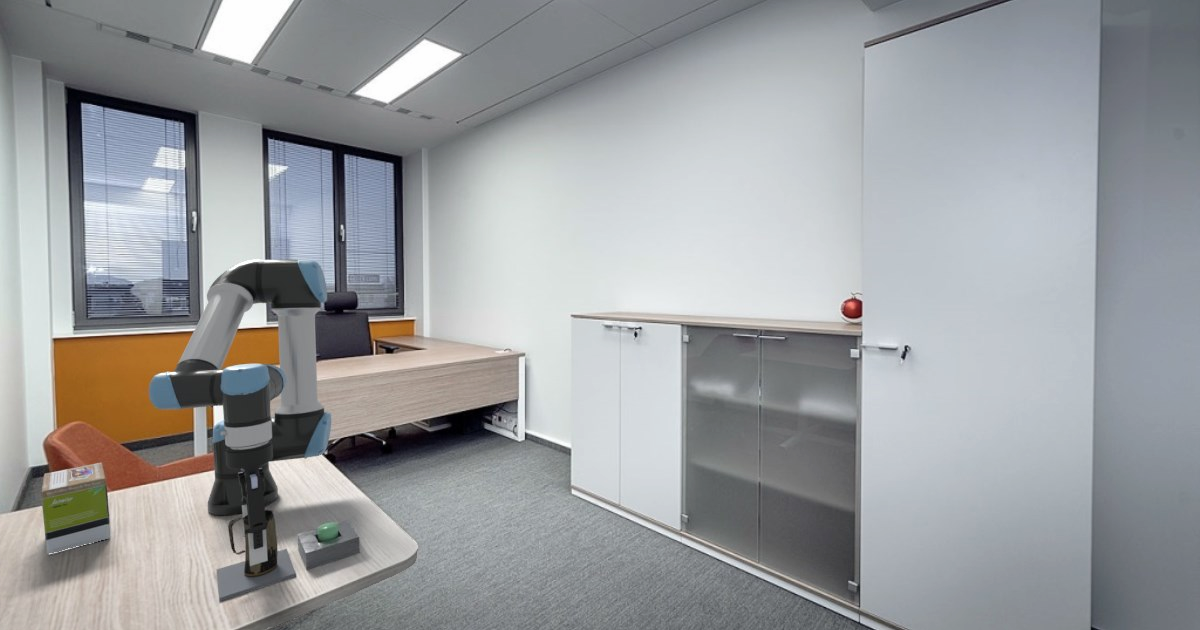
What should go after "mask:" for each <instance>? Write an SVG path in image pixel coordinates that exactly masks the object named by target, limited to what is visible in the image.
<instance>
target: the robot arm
mask: <svg viewBox="0 0 1200 630" xmlns="http://www.w3.org/2000/svg"><path fill="white" fill-rule="evenodd" d="M206 299H207V304H206V306H205V309H204V310H203V312H202V314H201V316H200V318H199V321H198V322H197V324H196V326H195V329H194V330H193V332H192V334H191V337H190V339H189V341H188V343H187V345H186V347H185V348H184V351H183V352H182V355H181V357H180V359H179V361H178V363H177V364H176V367H175V368H174V370H173V371H170V370H169V371H166V372H161V373H160V372H159V373H157V374H155V375H154V376H153V377H152V379H151V381H150V383H149V387H148V396H149V400H150V402H151V404H152V406H153V407H154V408H156V409H158V410H183V409H194V408H205V407H206V408H208V407H215V406H216V407H219V406H222V413H223V420H221V421H219V422H217V423H216V424H215V425H214V427H213V428H212V441H211V444H212V451H213V452H212V453H213V469H214V482H213V485H212V488H211V491H210V494H209V496H208V500H207V511H208V514H211V515H214V516H231V515H238V514H242V517H243V518H244V517H245V516H246V515H248V523H249V529H247V530H244V523H243V522H242V529H243V530H242V531H243V537H244V538H245V534H248V540H249V557H250V566H252V565H255V564H259V563H262V562H265V561H268V559H267V540H266V529H267V524H266V517H265V510H266V508H265V507H266V506H268V505H270V504H271V503H273V502H274V501H276V500H277V498H278V497H279V490H278V489H279V488H278V485H277V484H276V483H277V482H276V481H275V479H274V476H273V475H272V472H271V471H270V462H278V461H279V462H280V461H288V460H297V459H307V458H313V457H319V456H321V455H323V454H324V453H325V452H326V450H327V448H328V444H329V440H330V436H331V429H332V414H331V413H330V412H328V411H325V405H323V404H322V403H321V402H320V401H319V400H318V375H317V374H318V373H317V371H318V370H317V344H316V343H317V340H316V338H317V337H316V314H318V312H320V311H321V309H322V306H321V305H322V304H323V303H326V302H327V301H328V288H327V283H326V278H325V274H324V271H323V269H322V266H321V264H319V263H318V262H317V261H315V260H309V259H308V260H306V259H251V260H246V261H244V262H243V261H242V262H239V263H237V264H236V265H233V266H232V267H229V268H228V269H227V270H225V271H224V272H223V273H221V274H220V275H219V276H218V277H217V278H215V280H214V281H213V283H212V284H211V285H210V287H209V289H208V291H207V293H206ZM254 304H255V305H256V304H270V309H271V310H270V311H272V312H273V313H274V314H275V315H276V316H277V317H278V318H277V320H278V321H277V325H278V326H277V327H278V349H279V350H278V351H279V354H278V355H279V366H276V365H273V364H262V363H245V364H243V363H242V364H237V365H236V364H235V365H231V366H227V367H225V368H224V369H222V368H223V365H224V364H225V361H226V358H227V355H228V353H229V350H230V348H231V347H232V344H233V342H234V339H235V337H236V334H237V331H238V329H239V326H240V325H241V323H242V319H243V317H244V315H245V313H246V312H248V311H250V310H251V309H252V307H253V306H254ZM279 396H280V405H279V406H278V407H277V408H276V409H274V417H272V416H271V401H272V400H274V399H275V398H278V397H279ZM258 523H260V524H258ZM255 524H256V525H255Z"/></svg>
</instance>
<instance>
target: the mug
mask: <svg viewBox="0 0 1200 630" xmlns="http://www.w3.org/2000/svg"><path fill="white" fill-rule="evenodd" d="M265 517H266V524H267V529H266V540H267V559H268V561H265V562H262V563H259V564H255V565H252V566H250V557H249V540H248V534H245V537H244V542H245V545H244V548H245V550H244V549H243V550H241V551H238V552H237V550H236V548H235V541H234V532H233V526H234V525H235V523H236V522H238V521H240V520H242V524H243V523H244V530H247V529H249V523H248V515H246V516H245V517H244V518H243V516H238V517H235V518H233V519H232V520H230V522H229V523H228V526H227V527H228V537H229V543H230V547H231V550H232V552H233V554H235V555H241V554H244V553H245V555H244V556H245V557H244V561H245V568H244V575H245V576H246V577H258V576H262V575H265V574H267V573H269V572H271V571H273V570H274V569H275V568H276V567H277V554H278V551H279V550H278V536H277V534H278V533H277V528H276V519H275V515H274V512H273V510H270V509H265ZM258 524H260V523H258ZM255 525H256V524H255Z"/></svg>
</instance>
